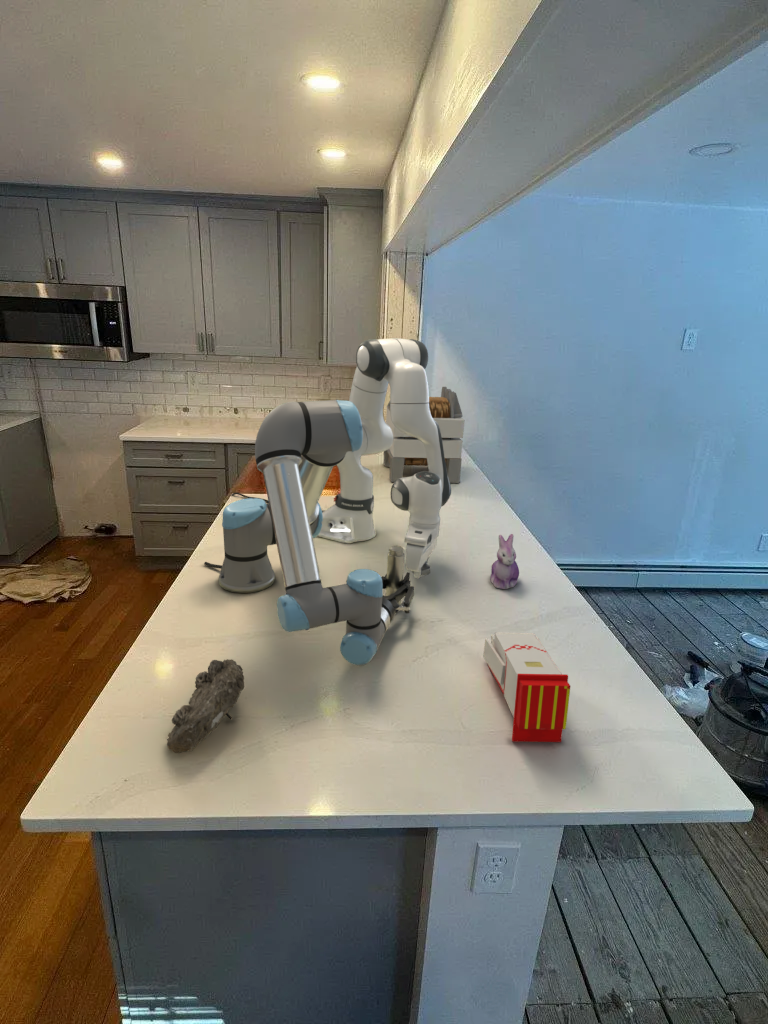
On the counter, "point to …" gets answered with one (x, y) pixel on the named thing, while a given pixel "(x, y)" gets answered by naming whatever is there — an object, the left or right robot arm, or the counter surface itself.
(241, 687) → the fossil
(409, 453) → the transformer
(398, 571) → the jar
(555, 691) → the toy
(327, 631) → the counter surface
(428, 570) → the lid
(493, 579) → the figurine
